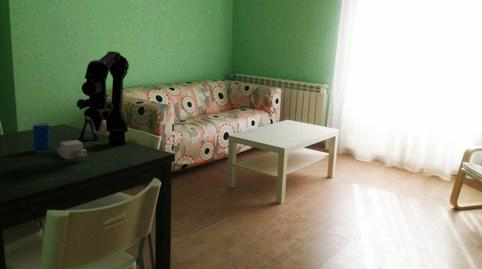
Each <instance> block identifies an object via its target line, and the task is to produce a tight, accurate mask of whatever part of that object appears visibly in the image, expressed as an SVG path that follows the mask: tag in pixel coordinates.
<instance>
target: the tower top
mask: <svg viewBox="0 0 482 269" xmlns="http://www.w3.org/2000/svg"><path fill="white" fill-rule="evenodd" d="M60 148H61V149H62V150H63V151H65V152H66V153H67V152H74V151H81V150H83V148H84V144H83V142H82V141H79V139H73V140H72V139H71V140H64V141H60Z"/></svg>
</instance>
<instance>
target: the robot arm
mask: <svg viewBox="0 0 482 269" xmlns="http://www.w3.org/2000/svg"><path fill="white" fill-rule="evenodd" d="M129 68H130V63H129V60H128V59H127V58H126V57H124V56H123V55H121V53H120V52H118V51H111V50H110V51H107V52H106V54H105V55H104V56H103V57H101V58H100V59H97V60H96V59H94V60H91V61H90V62H88V64H87V66H86V70H85V74H84V79H85V82H83V84H82V85H81V92H82V93H83V94H84V95H85V96H87V97H88V98H85V99H83V98H80V99H78V100H77V102H76V107H77V108H78V109H79V111H80V110H83V109H85V110H84V111H83V116H84V117H87V118H89V119H92V121H93V123H94V126H95V129H96V131H99V129H100V126H101V123H102V120H103V119H105V120H106V133H107V132H109V134H108V142H107V144H110V145H111V146H113V147H116V146H123V145H124V144H125V145H127V142H126V133H128V130H129V126H128V123H127V121H126V116H125V113H124V112H123V111H122V110H123V93H124V92H123V90H124V79H125V77H126V76H127V75H128V70H129ZM109 73H110V75H111V77H112V85H111V86H112V90H111V102H108V101H107V98H108V96H109V94H108V93H107V80H108V79H107V78H108V75H109ZM108 109H109V110H108Z"/></svg>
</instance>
